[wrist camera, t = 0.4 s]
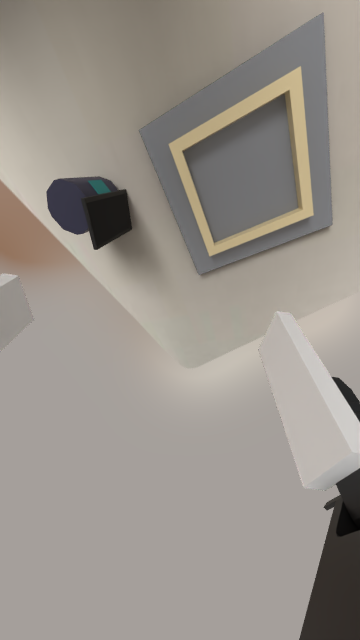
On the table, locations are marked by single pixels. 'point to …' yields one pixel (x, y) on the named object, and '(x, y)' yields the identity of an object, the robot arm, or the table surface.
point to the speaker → (90, 208)
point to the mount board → (250, 153)
